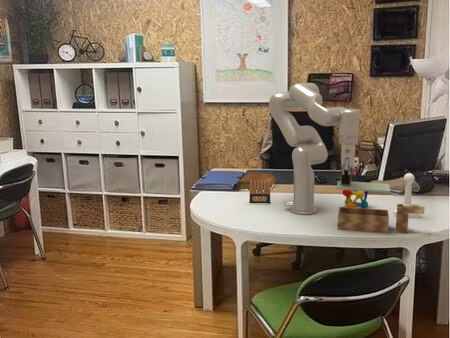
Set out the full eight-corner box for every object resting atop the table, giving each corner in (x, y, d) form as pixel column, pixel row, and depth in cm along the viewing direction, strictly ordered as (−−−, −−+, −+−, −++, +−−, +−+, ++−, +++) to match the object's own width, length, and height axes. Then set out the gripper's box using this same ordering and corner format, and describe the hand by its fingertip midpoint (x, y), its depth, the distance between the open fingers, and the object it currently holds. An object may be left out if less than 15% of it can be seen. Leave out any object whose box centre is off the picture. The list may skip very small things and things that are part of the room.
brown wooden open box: (337, 229, 190) (338, 205, 188) (338, 222, 199) (339, 198, 197) (407, 234, 182) (409, 209, 180) (405, 226, 191) (407, 202, 189)
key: (402, 212, 184) (403, 205, 184) (402, 210, 187) (402, 203, 186) (424, 213, 182) (424, 206, 182) (423, 212, 184) (423, 205, 184)
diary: (246, 181, 279) (246, 172, 278) (276, 183, 274) (276, 174, 273) (237, 190, 257) (237, 180, 256) (269, 192, 252) (269, 182, 251)
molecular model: (348, 213, 212) (334, 185, 217) (351, 216, 223) (337, 189, 228) (378, 199, 209) (363, 171, 214) (379, 203, 220) (365, 176, 225)
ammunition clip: (270, 203, 230) (270, 180, 228) (270, 204, 229) (270, 180, 226) (249, 202, 232) (249, 180, 229) (249, 203, 230) (249, 180, 227)
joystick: (394, 217, 204) (397, 174, 200) (391, 212, 211) (393, 170, 207) (420, 218, 202) (423, 174, 198) (416, 213, 210) (419, 170, 206)
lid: (336, 189, 186) (337, 171, 185) (337, 182, 197) (338, 166, 195) (390, 192, 181) (391, 175, 179) (388, 185, 191) (390, 169, 189)
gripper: (357, 143, 177) (354, 188, 181) (358, 136, 193) (355, 178, 197) (338, 142, 179) (335, 186, 183) (340, 135, 195) (337, 177, 199)
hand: (345, 182), depth 190 cm, fingers closed on lid, 4 cm apart
